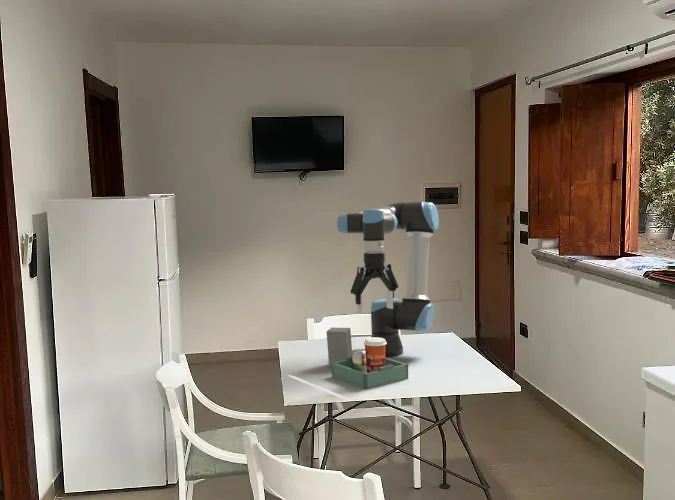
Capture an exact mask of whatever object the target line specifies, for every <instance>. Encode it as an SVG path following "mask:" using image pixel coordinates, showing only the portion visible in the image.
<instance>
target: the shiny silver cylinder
mask: <svg viewBox="0 0 675 500" xmlns="http://www.w3.org/2000/svg"><path fill="white" fill-rule="evenodd" d="M352 368H353V369H354V370H357V371H360V372H363V373H367V367H366V354H365V348H355V349H352Z"/></svg>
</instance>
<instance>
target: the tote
mask: <svg viewBox="0 0 675 500" xmlns="http://www.w3.org/2000/svg"><path fill="white" fill-rule="evenodd" d="M331 377H332V378H334V379H337V380H339V381H343V382H345V383H348V384H350V385H353V386H356V387H358V388H360V389H363V390H368V389H372V388H376V387H381V386H384V385H388V384H391V383H395V382H400V381H405V380H409V364H408V363H405V362H402V361H399V360H395V359H392V358H389V357H385V366H383V367H379V370H378V371H373V372H369V373H363V372H360V371H357V370H354V369H353V368H352V356H350V357H347V360H343V361H339V362H334V363H332V368H331Z"/></svg>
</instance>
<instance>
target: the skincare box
mask: <svg viewBox="0 0 675 500" xmlns="http://www.w3.org/2000/svg"><path fill="white" fill-rule="evenodd" d="M351 330H352V329H351V327H330V328H329V329H328V330H326V342H327V356H328V368H331V369H332V363H334V362H339V361H343V360H347V357H350V356H352V350H353V348H352V347H353V346H352V345H353V344H352V332H351Z"/></svg>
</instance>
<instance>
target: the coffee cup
mask: <svg viewBox="0 0 675 500" xmlns="http://www.w3.org/2000/svg"><path fill="white" fill-rule="evenodd" d="M386 344H387V342H386V340H385V339H384V338H378V337H373V338H371V337H367V338H365V339H364V342H363V345H364V349H365V354H366V367H367V373H369V372H373V371H378V370H379V367H383V366H385V358H386V357H385V348H386Z"/></svg>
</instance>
